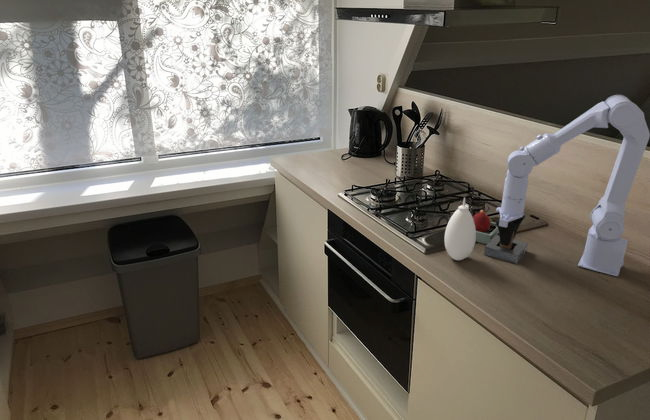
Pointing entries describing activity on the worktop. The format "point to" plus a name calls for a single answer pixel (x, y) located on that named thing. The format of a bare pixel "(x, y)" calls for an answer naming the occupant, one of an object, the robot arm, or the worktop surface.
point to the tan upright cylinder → (509, 244)
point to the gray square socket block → (505, 250)
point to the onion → (481, 222)
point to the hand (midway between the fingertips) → (507, 241)
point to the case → (486, 235)
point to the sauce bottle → (460, 233)
